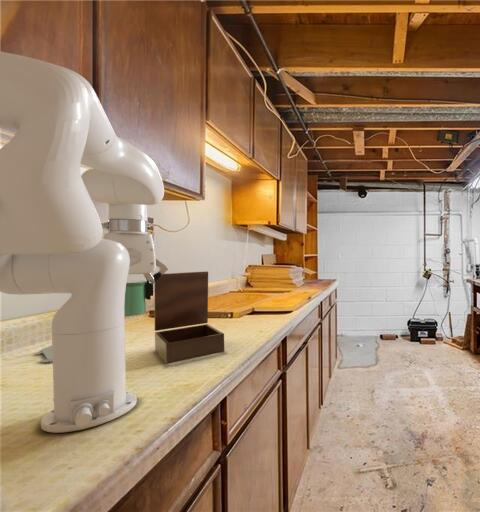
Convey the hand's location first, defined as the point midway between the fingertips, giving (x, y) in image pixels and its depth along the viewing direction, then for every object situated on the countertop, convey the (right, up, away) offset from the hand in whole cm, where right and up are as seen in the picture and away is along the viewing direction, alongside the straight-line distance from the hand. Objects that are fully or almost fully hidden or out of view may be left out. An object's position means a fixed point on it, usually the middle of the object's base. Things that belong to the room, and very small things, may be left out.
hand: (130, 300), depth 77 cm
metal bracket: (-27, -17, +13) cm, 34 cm away
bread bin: (+7, -17, +12) cm, 22 cm away
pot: (0, -3, 0) cm, 3 cm away
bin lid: (+3, -2, +16) cm, 17 cm away
